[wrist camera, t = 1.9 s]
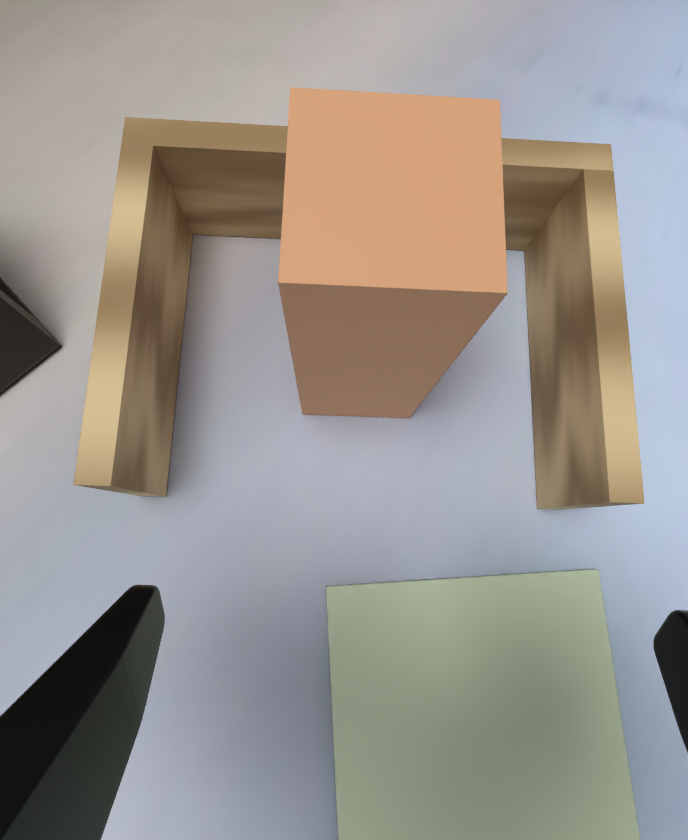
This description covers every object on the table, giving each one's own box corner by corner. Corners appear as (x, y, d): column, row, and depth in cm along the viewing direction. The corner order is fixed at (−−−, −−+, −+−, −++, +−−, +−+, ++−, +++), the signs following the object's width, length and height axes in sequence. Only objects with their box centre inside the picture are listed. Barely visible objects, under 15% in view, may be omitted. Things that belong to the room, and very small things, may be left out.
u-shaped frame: (562, 509, 23) (644, 503, 17) (138, 495, 22) (73, 484, 17) (546, 230, 26) (610, 144, 20) (171, 211, 25) (125, 117, 20)
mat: (341, 909, 20) (341, 917, 19) (326, 585, 22) (326, 587, 22) (641, 880, 20) (647, 887, 20) (593, 568, 23) (598, 569, 22)
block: (408, 418, 24) (507, 293, 11) (302, 414, 24) (278, 282, 11) (409, 319, 25) (499, 99, 12) (307, 314, 25) (290, 87, 12)
